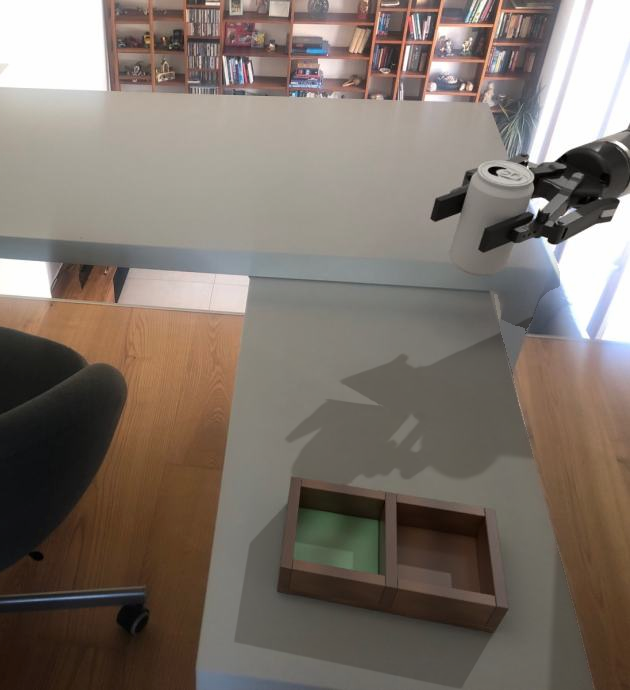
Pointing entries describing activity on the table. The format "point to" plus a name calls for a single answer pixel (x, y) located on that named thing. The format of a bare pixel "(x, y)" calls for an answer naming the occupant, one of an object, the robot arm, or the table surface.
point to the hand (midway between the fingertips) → (459, 224)
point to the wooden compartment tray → (393, 554)
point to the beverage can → (490, 214)
